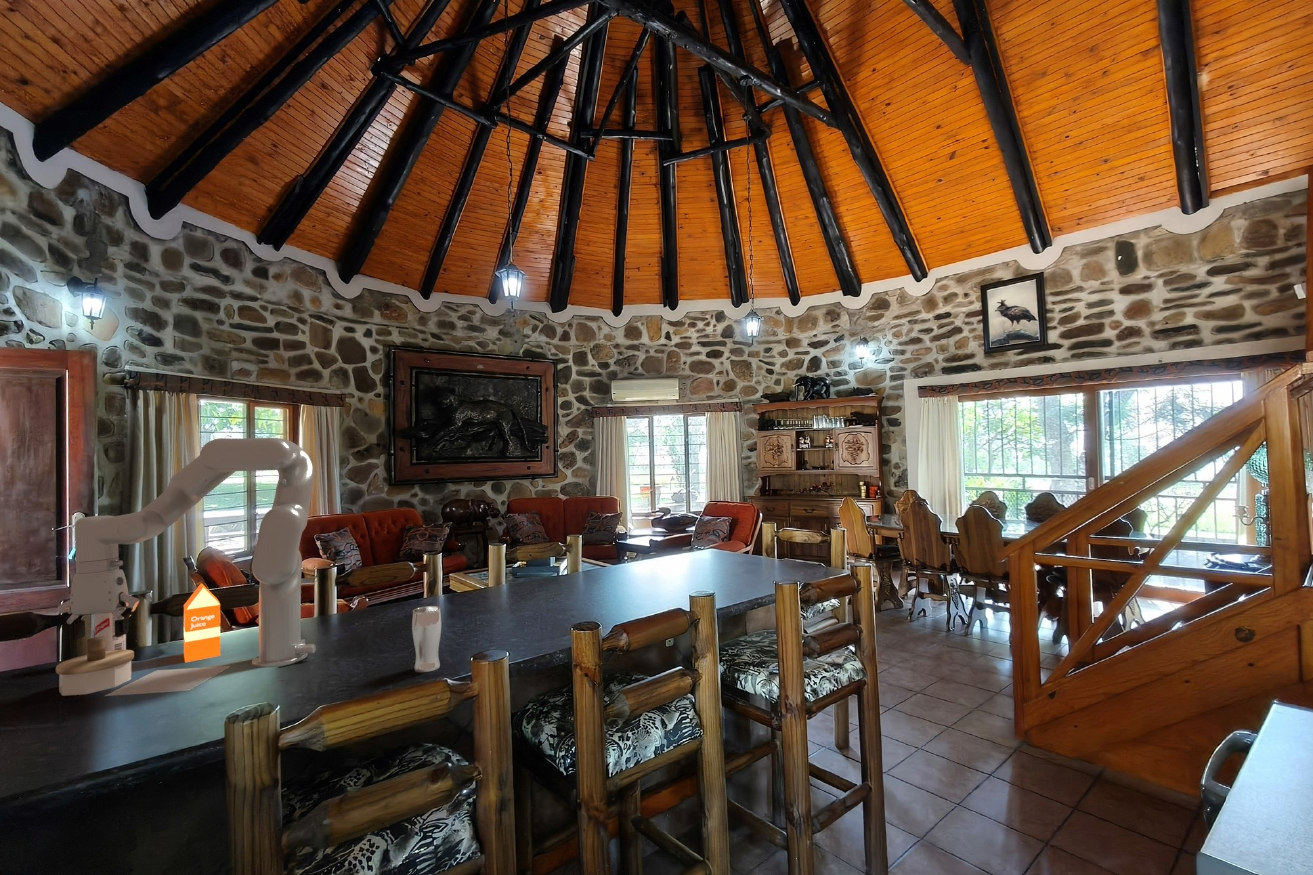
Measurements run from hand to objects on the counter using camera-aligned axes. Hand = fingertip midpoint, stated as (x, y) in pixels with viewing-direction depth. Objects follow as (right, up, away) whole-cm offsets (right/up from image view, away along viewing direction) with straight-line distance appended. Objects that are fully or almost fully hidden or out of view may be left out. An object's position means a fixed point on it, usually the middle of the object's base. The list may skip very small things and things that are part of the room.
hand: (100, 636), depth 141 cm
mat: (+17, -12, +1) cm, 20 cm away
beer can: (-14, -13, +18) cm, 26 cm away
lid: (0, -7, 0) cm, 6 cm away
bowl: (0, -12, -1) cm, 12 cm away
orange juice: (+10, -13, +20) cm, 25 cm away
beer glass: (+77, -11, +7) cm, 78 cm away
